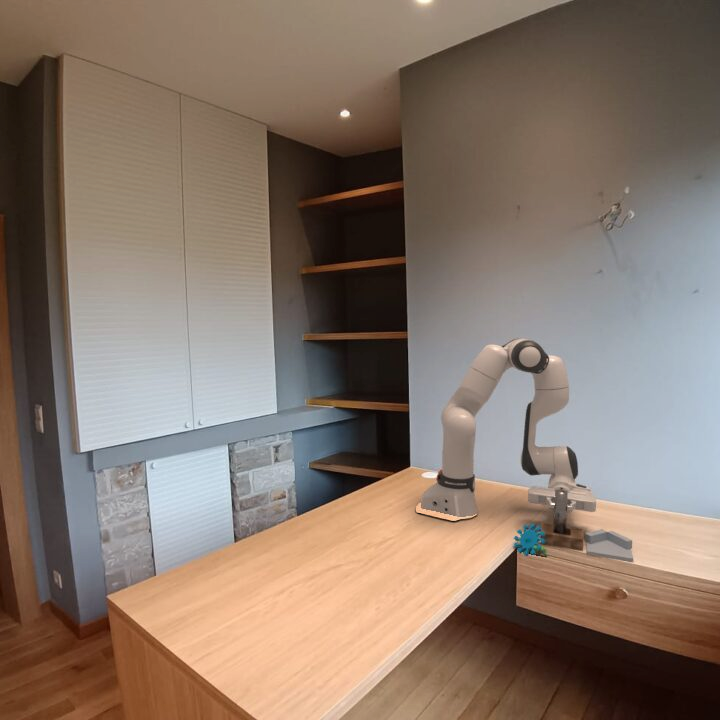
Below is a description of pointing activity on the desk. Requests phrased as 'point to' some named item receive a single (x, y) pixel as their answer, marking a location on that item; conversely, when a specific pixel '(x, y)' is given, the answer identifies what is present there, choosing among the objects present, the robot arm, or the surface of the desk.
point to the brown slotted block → (563, 537)
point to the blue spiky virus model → (530, 540)
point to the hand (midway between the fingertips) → (560, 507)
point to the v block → (609, 545)
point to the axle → (560, 511)
